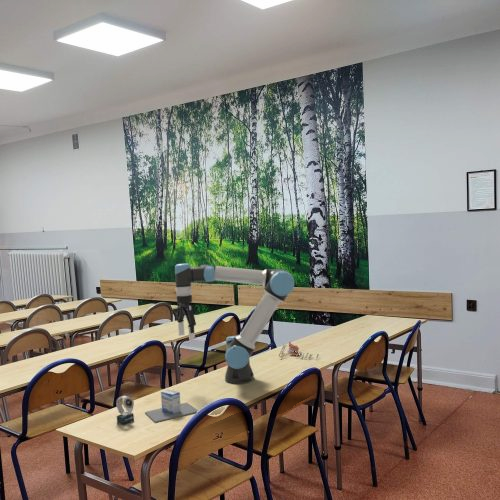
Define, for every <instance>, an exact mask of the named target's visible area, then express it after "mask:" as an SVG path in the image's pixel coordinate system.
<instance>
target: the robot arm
mask: <svg viewBox="0 0 500 500" xmlns="http://www.w3.org/2000/svg"><path fill="white" fill-rule="evenodd" d="M174 277H175V290H174V291H175V292H176V293H175V294H176V303H177V309H176V317H175V318H176V319H175V320H176V321H177V323H178V324H177V325H178V336H180V337H181V336H184V335H185V321H184V318H185V317H186V320H187V324H188V325H187V327H188V328H187V329H188V339H189V341H193V340H196V335H195V326H196V325H197V322H196V318H195V314H194V309H193V305H190V303H193V295H192V292H193V291H192V283H205V282H206V283H209V282H214V281H218V282H219V281H220V282H228V283H229V282H230V283H239V284H246V285H247V284H250V285H258V286H262V287H263V293H264V294H263V296H262V297H261V299H260V300H259V302H258V304H257V306H256V308H255V309H254V311H253V312H252V314H251V316H250V318H248V320H247V321H246V324H245V325H244V327H243V328H242V330H241V332H240V334H237V335H232V336H230V335H229V336H227V337H226V339H225V343H226V344H225V345H226V350H225V353H224V354H225V355H224V357H225V358H224V359H225V362H226V364H227V367H226V370H225V371H226V372H225V374H224V381H225V382H226V383H228V384H246V383H250V382H251V381H253V380H254V379H255V376H254V375H255V374H254V372H253V369H252V366H251V364H250V363H251V362H250V358H251V356H252V354H253V352H255V350H256V346H255V344H256V342H257V340H258V339H259V337H260V335H261V334H262V332H263V331H264V329H265V327H266V326H267V324H268V322H269V320H270V319H271V317H272V316H273V314H274V312H275V311H276V309H277V308H278V306H279V304H280V303H283V302H285V300H286V299H287V298H288V295H290V294H291V293H292V292H293V290H294V287H295V279H294V277H293V275H292V274H291V273H290V272H289V271H287V270H286V269H284V268H283V269H282V268H281V269H280V268H277V269H271V268H270V269H269V268H265V269H264V270H261V269H260V270H259V269H252V268H250V269H249V268H241V267H231V266H230V267H229V266H220V265H211V264H206V263H205V264H201V265H199V266H192V267H191V264H190V263H177V264H176V265H175V266H174ZM249 381H250V382H249ZM245 382H246V383H245Z"/></svg>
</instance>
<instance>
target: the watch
mask: <svg viewBox="0 0 500 500" xmlns="http://www.w3.org/2000/svg"><path fill="white" fill-rule="evenodd" d="M121 401H122V402H121ZM134 402H135V401H134V400H133V398H132V397H129V395H128V396H127V395H121V396H120V397H118V398H117V399H116V408H117V411H118V413H119V414H118V415H116V423H117V425H123V426H125V425H128V424H129V423H132V422H134V421H135V418H134V417H135V415H134V413H133V410H134V406H135V405H134V404H135V403H134ZM124 408H125V409H124ZM125 410H126V411H125Z"/></svg>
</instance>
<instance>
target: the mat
mask: <svg viewBox="0 0 500 500" xmlns="http://www.w3.org/2000/svg"><path fill="white" fill-rule="evenodd" d="M180 405H181V411H180V412H178V413H175V414H172V413H168V412H164V411H162V407H161V408H156V409H152V410H147V411H145V412H144V414H145V415H146V416H147V417H148V418H150V419H151V420H152V422H153V423H160V422H164V421H169V420H172V419H177V418H181V417H185V416H189V415H194V414H197V413H196V412H197V411H199V410H198V409H197V408H195V407H194V406H193V405H191V404H190V403H188V402H183V403H182V402H181V403H180Z"/></svg>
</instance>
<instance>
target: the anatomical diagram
mask: <svg viewBox="0 0 500 500" xmlns="http://www.w3.org/2000/svg"><path fill="white" fill-rule="evenodd" d="M286 346H287V344H283V347H282V348H281V350H280V353H279V354H278V356H279V359H280V358H284V356H285V354H286V352H285V350H287V353H288V354H289V355H292V356H294V355H297V356H296V357H298V358H300V357H301V356H300V355H302V357H301V359H303V357H304V355H305V354H306V355H305V358H307V357H308V355H309V357H308V358H309V359H310V358H312V356H313V354H315V353H309V352H307V353H306V350H303V351H301V349H300V348H299V347H298V345H294V344H293V343H291V341H288V347H287V348H286ZM294 351H296V352H294ZM297 352H299V353H300V355H299V353H297ZM298 355H299V356H298ZM319 356H320V355H319V354H318V353H317V355H316V358H318V357H319Z"/></svg>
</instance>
